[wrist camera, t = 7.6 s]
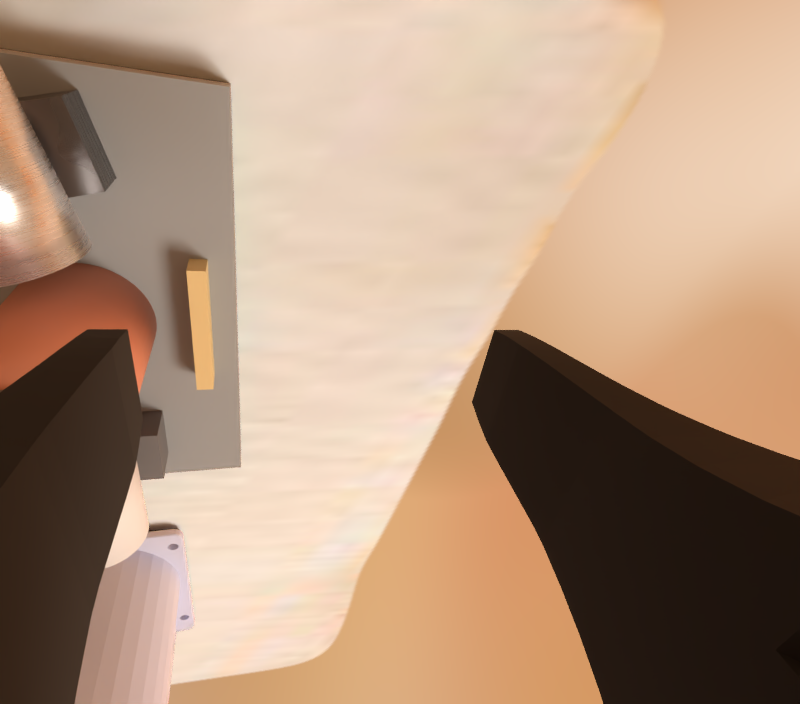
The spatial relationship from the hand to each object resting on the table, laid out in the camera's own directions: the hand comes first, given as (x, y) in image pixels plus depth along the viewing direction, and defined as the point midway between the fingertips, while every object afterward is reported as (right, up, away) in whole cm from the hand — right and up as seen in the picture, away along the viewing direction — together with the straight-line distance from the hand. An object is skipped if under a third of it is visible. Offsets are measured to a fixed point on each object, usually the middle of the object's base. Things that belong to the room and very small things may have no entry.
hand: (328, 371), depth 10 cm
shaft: (-9, +6, +4) cm, 12 cm away
